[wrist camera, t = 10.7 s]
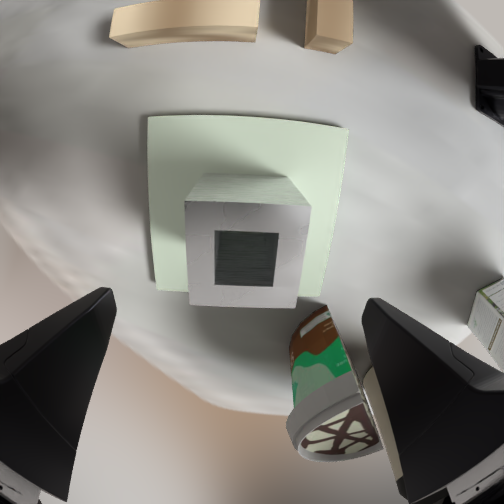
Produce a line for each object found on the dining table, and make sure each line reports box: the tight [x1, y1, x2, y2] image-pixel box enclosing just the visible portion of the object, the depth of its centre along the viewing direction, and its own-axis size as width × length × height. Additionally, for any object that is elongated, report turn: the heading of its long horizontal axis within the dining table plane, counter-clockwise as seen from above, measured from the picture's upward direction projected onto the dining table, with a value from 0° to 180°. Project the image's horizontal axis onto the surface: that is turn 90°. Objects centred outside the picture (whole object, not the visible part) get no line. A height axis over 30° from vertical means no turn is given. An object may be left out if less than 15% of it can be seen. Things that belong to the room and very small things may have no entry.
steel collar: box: [184, 173, 312, 308], centre depth 14 cm, size 5×5×6 cm
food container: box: [286, 305, 383, 462], centre depth 20 cm, size 12×6×10 cm, turn 28°
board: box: [147, 115, 349, 297], centre depth 17 cm, size 12×12×1 cm
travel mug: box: [363, 366, 449, 504], centre depth 18 cm, size 8×8×18 cm
